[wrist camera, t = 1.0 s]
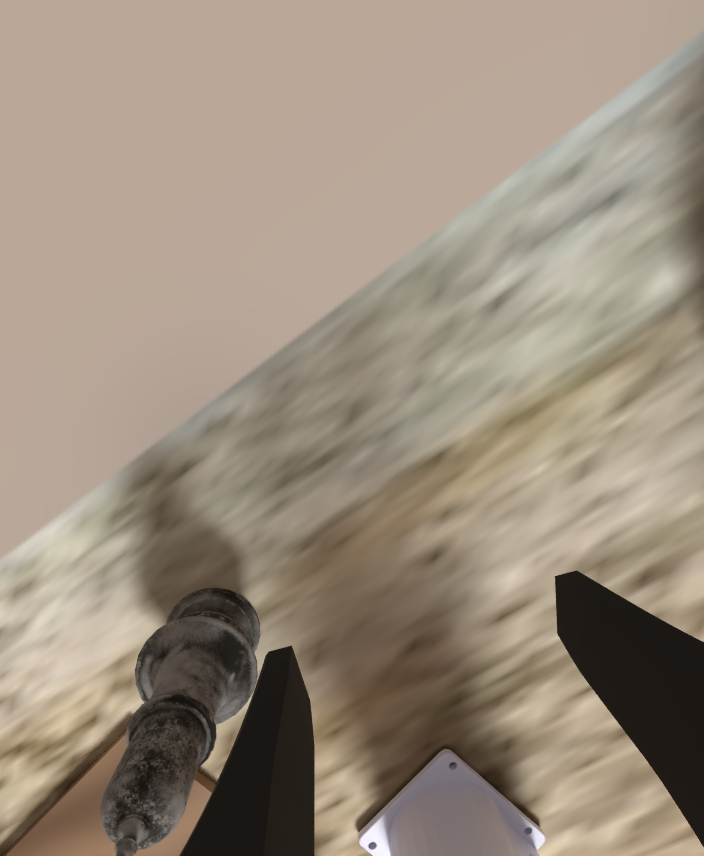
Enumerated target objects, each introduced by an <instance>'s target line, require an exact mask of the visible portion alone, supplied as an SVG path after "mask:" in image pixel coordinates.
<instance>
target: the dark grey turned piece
mask: <svg viewBox="0 0 704 856" xmlns="http://www.w3.org/2000/svg"><path fill="white" fill-rule="evenodd" d="M259 638H260V623H259V620H258V617H257V614H256V612H255V611H254V609H253V608H252V606H251V605H250V603H249V602H247V601H246V600H245V599H244V598H243V597H242V596H240V595H238V594H236V593H234V592H232V591H229V590H224V589H219V588H212V589H203V590H200V591H196V592H193V593H192V594H190V595H188V596H187V597H185V598H183V599H182V600H181V601H180V602H179V603H178V604H177V605H176V606H175V607H174V609H173V611H172V613H171V615H170V616H169V618H168V621H167V624H166V625H164V626H163V627H161V628H159V629H158V630H157V631H156V632H155V633H154V634H153V635H152V636H151V637H150V638H149V639H148V640H147V641H146V642H145V644H144V646H143V648H142V650H141V651H140V653H139V655H138V659H137V664H136V668H135V676H136V686H137V688H138V691H139V694H140V696H141V699H142V700H143V701H144V704H143V705H141V707H140V708H139V709H138V710H137V711H136V712H135V713H134V714H133V716H132V718H131V720H130V722H129V723H128V726H127V731H126V735H125V736H126V747H127V748H126V750H125V752H124V754H123V756H122V758H121V760H120V762H119V764H118V766H117V768H116V770H115V772H114V774H113V775H112V777H111V779H110V781H109V783H108V785H107V787H106V789H105V791H104V794H103V798H102V802H101V807H100V818H101V823H102V826H103V829H104V831H105V834H106V835H107V836H108V838H109V839H110V840H111V841H112V842H113V843H115V848H114V849H115V852H116V856H133V855H134V854H135V853H136V852H137V850H141V849H146V848H149V847H152V846H154V845H156V844H158V843H159V842H161V841H162V840H164V839H165V838H166V837H168V836H169V835H170V834H171V833H172V832H173V831H174V830H175V828H176V826H177V825H178V823H179V821H180V819H181V817H182V816H183V814H184V811H185V808H186V805H187V802H188V798H189V795H190V792H191V788H192V785H193V782H194V779H195V775H196V772H197V769H198V768H199V767H200V766H201V765H202V764H203V763H204V762H205V761H206V760H207V759H208V758H209V756H210V754H211V752H212V750H213V748H214V744H215V740H216V724H219V723H222V722H224V721H226V720H227V719H229V718H230V717H232V716H234V715H235V714H237V713H238V712H239V710H240V709H241V708H242V707H243V706H244V705H245V704H246V703H247V702H248V700H249V698H250V696H251V694H252V693H253V691H254V687H255V683H256V679H257V660H256V657H255V654H254V652H255V650H256V648H257V646H258V642H259Z"/></svg>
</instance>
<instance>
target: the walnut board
mask: <svg viewBox="0 0 704 856" xmlns="http://www.w3.org/2000/svg"><path fill="white" fill-rule="evenodd" d="M126 731H127V729H126V730H125V731H124V732H123V733H122V734H121V735H120V736H119V738H118V739H117V740H116V741H115V742H114V743H113V744H112V745H111V746H110V747H109V748H108V749H107V750H106V751H105V752H104V753H103V754H102V755H101V756H100V757H99V758H98V759H97V760H96V761H95V762H94V763H93V764H92V765H91V766H90V767H89V768H88V769H87V770H86V771H85V772H84V773H83V774H82V775H81V776H80V777H79V778H78V779H77V780H76V781H75V782H74V783H73V784H72V785H71V786H70V787H69V788H68V789H67V790H66V791H65V792H64V793H63V794H62V795H61V796H60V797H59V798H58V799H57V800H56V801H55V802H54V803H53V804H52V805H51V806H50V807H49V808H48V810H47V811H46V812H45V813H44V814H43V815H42V816H41V817H40V818H39V819H38V820H37V821H36V822H35V823H34V824H33V825H32V826H31V827H30V828H29V829H28V830H27V831H26V832H25V833H24V834H23V835H22V836H21V837H20V838H19V839H18V840H17V841H16V842H15V843H14V844H13V845H12V846H11V847H10V848H9V849H8V850H7V851H6V852H5V853H4V854H3V855H2V856H116V852H115V849H114V848H115V843H113V842H112V841H111V840H110V839H109V838H108V836H107V835H106V834H105V831H104V829H103V826H102V823H101V818H100V807H101V802H102V798H103V794H104V791H105V789H106V787H107V785H108V783H109V781H110V779H111V777H112V775H113V774H114V772H115V770H116V768H117V766H118V764H119V762H120V760H121V758H122V756H123V754H124V752H125V750H126V748H127V747H126V736H125V735H126ZM215 786H216V784H215V783H213V782H212V781H211V780H209V779H208V778H207V777H205V776H204V775H203V774H202V773H200V772H199V771H198V770H197V772H196V775H195V779H194V782H193V785H192V788H191V792H190V795H189V798H188V802H187V805H186V808H185V811H184V814H183V816H182V817H181V819H180V821H179V823H178V825H177V826H176V828H175V830H174V831H173V832H172V833H171V834H170V835H169V836H168V837H166V838H165V839H164V840H162V841H161V842H159V843H158V844H156V845H154V846H152V847H149V848H146V849H141V850H137V852H136V853H135V854H134V855H133V856H179V855H180V853H181V852H182V850H183V848H184V846H185V845H186V843H187V841H188V839H189V837H190V835H191V833H192V831H193V830H194V828H195V826H196V824H197V822H198V820H199V818H200V816H201V814H202V812H203V810H204V808H205V806H206V804H207V802H208V800H209V798H210V796H211V794H212V792H213V790H214V788H215Z"/></svg>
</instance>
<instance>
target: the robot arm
mask: <svg viewBox="0 0 704 856" xmlns="http://www.w3.org/2000/svg"><path fill="white" fill-rule="evenodd" d="M555 586H556V610H557V634H558V636H559V637H560V639H561V641H562V642H563V644H564V646H565V648H566V649H567V651H568V653H569V655H570V656H571V658H572V659H573V661H574V663H575V664H576V666H577V668H578V669H579V671H580V672H581V674H582V675H583V676H584V678H585V679H586V680H587V682H588V683H589V685H590V686H591V687H592V689H593V690H594V691H595V693H596V694H597V695H598V697H599V698H600V699H601V701H602V702H603V703H604V705H605V706H606V707H607V709H608V710H609V711H610V712H611V714H612V715H613V716H614V718H615V719H616V720H617V722H618V723H619V724H620V726H621V727H622V728H623V730H624V731H625V732H626V734H627V735H628V736H629V738H630V739H631V740H632V741H633V743H634V744H635V745H636V747H637V748H638V749H639V751H640V752H641V753H642V755H643V756H644V757H645V759H646V760H647V761H648V763H649V764H650V766H651V767H652V768H653V770H654V771H655V773H656V774H657V775H658V777H659V778H660V780H661V781H662V783H663V784H664V786H665V787H666V789H667V790H668V792H669V793H670V795H671V797H672V798H673V800H674V801H675V803H676V804H677V806H678V807H679V809H680V810H681V812H682V814H683V815H684V817H685V818H686V820H687V821H688V823H689V824H690V826H691V828H692V829H693V831H694V832H695V834H696V836H697V837H698V839H699V840H700V842H701V844H702V845H703V847H704V642H702V641H700V640H698V639H696V638H694V637H692V636H690V635H688V634H687V633H685V632H683V631H681V630H679V629H677V628H675V627H673V626H672V625H670V624H668V623H666V622H664V621H662V620H661V619H659V618H657V617H655V616H654V615H652V614H650V613H648V612H646V611H645V610H643V609H641V608H639V607H638V606H636V605H634V604H632V603H631V602H629V601H627V600H626V599H624V598H622V597H621V596H619V595H617V594H615V593H614V592H612V591H610V590H609V589H607V588H605V587H604V586H602V585H600V584H599V583H597V582H595V581H594V580H592V579H590V578H589V577H587V576H585V575H583V574H582V573H580V572H578V571H573V572H569V573H566V574H562V575H558V576H555ZM452 762H454V763H453V764H450V763H452ZM545 839H546V838H545V834H544V833H543V831H542V829H541V828H540V827H538V826H537V825H536V824H535V823H534V822H533V821H532V820H530V819H529V818H528V817H527V816H526V815H525V814H524V813H522V812H521V811H520V810H519V809H518V808H517V807H516V806H514V805H513V804H512V803H511V802H510V801H509V800H508V799H506V798H505V797H504V796H503V795H502V794H501V793H499V792H498V791H497V790H496V789H495V788H494V787H493V786H491V785H490V784H489V783H488V782H487V781H486V780H485V779H483V778H482V777H481V776H480V775H479V774H478V773H477V772H475V771H474V770H473V769H472V768H471V767H470V766H469V765H467V764H466V763H465V762H464V761H463V760H462V759H460V758H459V757H458V756H457V755H456V754H455V753H454V752H452V751H451V750H449V749H444V750H442V751H440V752H439V753H438V754H437V755H436V756H435V757H434V758H433V759H432V760H431V761H430V762H429V763H428V764H427V765H426V766H425V767H424V768H423V769H422V770H421V771H420V772H419V773H418V774H417V775H416V776H415V777H414V778H413V779H412V780H411V781H410V782H409V783H408V784H407V785H406V786H405V787H404V788H403V789H402V790H401V791H400V792H399V793H398V794H397V795H396V796H395V797H394V798H393V799H392V800H391V801H390V802H389V803H388V804H387V805H386V806H385V807H384V808H383V809H382V810H381V811H380V812H379V813H378V814H377V815H376V816H375V817H374V818H373V819H372V820H371V821H370V822H369V823H368V824H367V825H366V826H365V827H364V828H363V829H362V830H361V831H360V832H359V834H358V840H359V844H360V845H361V846H362V847H363V848H364V849H365V850H367V851H368V852H369V853H370V854H372V855H373V856H539V854H538V852H537V849H538V848H540V847H541V846H542V845H543V843H544V842H545ZM371 842H373V843H371ZM179 856H314V736H313V725H312V715H311V705H310V699H309V696H308V693H307V690H306V687H305V684H304V681H303V678H302V675H301V672H300V669H299V666H298V663H297V660H296V657H295V654H294V651H293V648H292V646H289V647H285V648H281V649H277V650H273V651H270V652H268V654H267V655H266V657H265V660H264V663H263V667H262V670H261V673H260V676H259V679H258V682H257V685H256V688H255V691H254V694H253V696H252V699H251V702H250V705H249V707H248V710H247V713H246V715H245V718H244V720H243V723H242V725H241V728H240V730H239V733H238V735H237V738H236V740H235V743H234V745H233V748H232V750H231V752H230V754H229V757H228V759H227V761H226V763H225V765H224V768H223V770H222V772H221V774H220V777H219V779H218V781H217V783H216V786H215V788H214V790H213V792H212V794H211V796H210V798H209V800H208V802H207V804H206V806H205V808H204V810H203V812H202V814H201V816H200V818H199V820H198V822H197V824H196V826H195V828H194V830H193V831H192V833H191V835H190V837H189V839H188V841H187V843H186V845H185V846H184V848H183V850H182V852H181V853H180V855H179Z"/></svg>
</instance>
